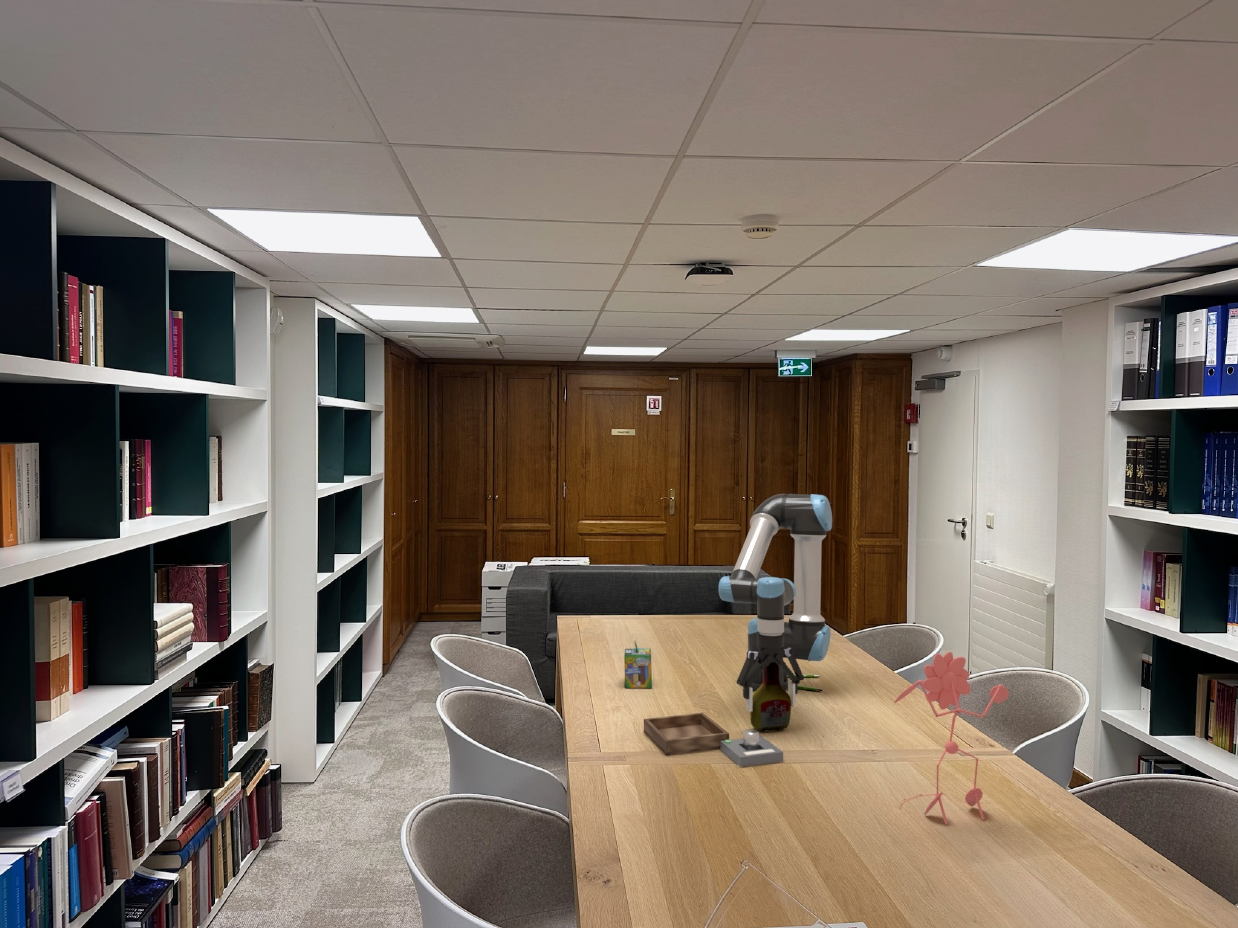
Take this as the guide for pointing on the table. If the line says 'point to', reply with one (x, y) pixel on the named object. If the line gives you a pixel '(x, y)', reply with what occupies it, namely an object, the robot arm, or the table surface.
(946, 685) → the figurine
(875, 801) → the table surface
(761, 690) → the bottle
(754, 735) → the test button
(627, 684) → the chalk box
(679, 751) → the tray
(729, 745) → the grey flat square piece
